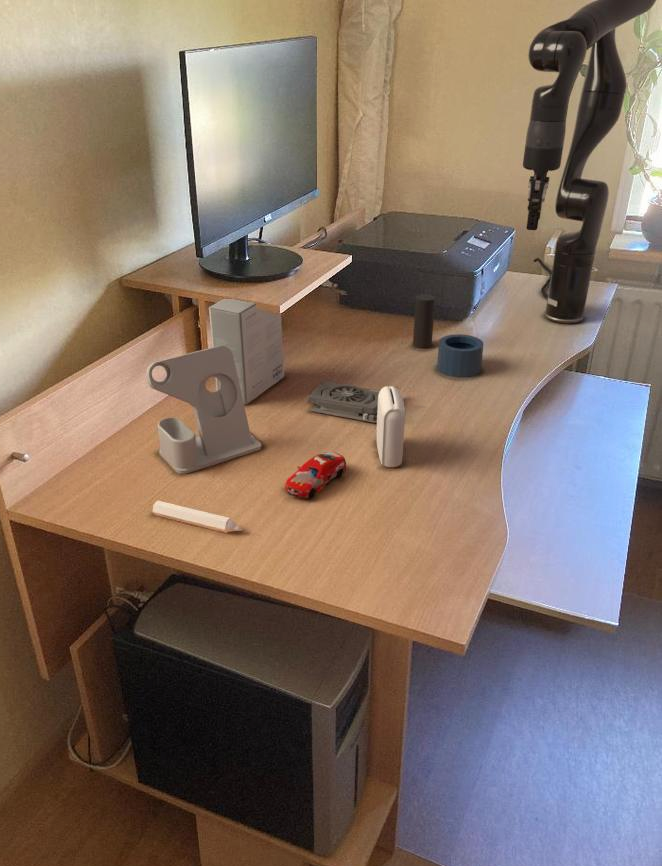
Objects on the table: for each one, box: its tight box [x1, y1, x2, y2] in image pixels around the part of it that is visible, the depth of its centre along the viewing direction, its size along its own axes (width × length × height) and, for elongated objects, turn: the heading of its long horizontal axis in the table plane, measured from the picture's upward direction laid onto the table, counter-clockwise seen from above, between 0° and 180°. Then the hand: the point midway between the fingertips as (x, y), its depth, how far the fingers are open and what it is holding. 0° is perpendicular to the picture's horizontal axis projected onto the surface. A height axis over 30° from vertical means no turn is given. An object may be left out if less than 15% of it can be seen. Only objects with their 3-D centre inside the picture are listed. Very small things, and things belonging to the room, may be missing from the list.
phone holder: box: [145, 346, 262, 475], centre depth 139 cm, size 17×10×18 cm, turn 122°
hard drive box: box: [208, 290, 285, 406], centre depth 161 cm, size 16×8×20 cm, turn 150°
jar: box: [436, 333, 485, 379], centre depth 171 cm, size 9×10×6 cm
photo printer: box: [375, 385, 406, 468], centre depth 139 cm, size 10×4×12 cm, turn 0°
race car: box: [284, 451, 347, 499], centre depth 133 cm, size 13×5×4 cm, turn 140°
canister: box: [412, 293, 436, 350], centre depth 181 cm, size 4×4×12 cm
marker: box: [152, 500, 244, 534], centre depth 124 cm, size 3×2×16 cm
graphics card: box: [306, 380, 399, 424], centre depth 158 cm, size 17×4×12 cm
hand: (533, 224), depth 168 cm, fingers open, 8 cm apart
